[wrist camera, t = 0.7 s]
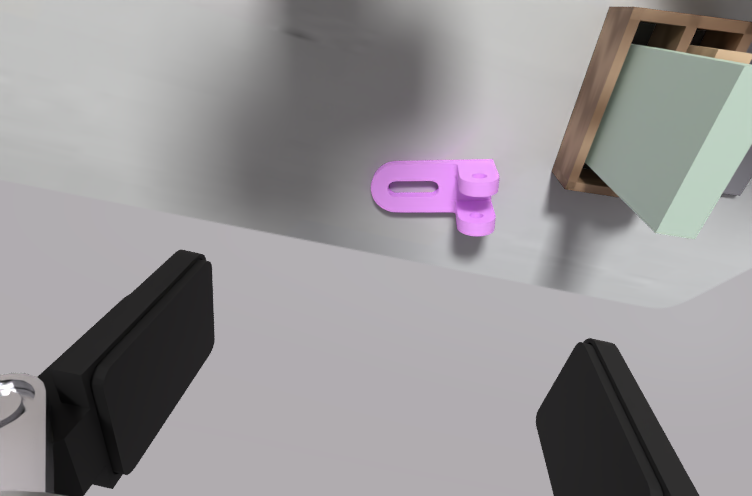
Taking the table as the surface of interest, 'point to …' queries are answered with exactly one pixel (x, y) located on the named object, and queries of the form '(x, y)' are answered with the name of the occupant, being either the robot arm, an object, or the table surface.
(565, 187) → the walnut rack
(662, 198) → the green board
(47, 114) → the table surface
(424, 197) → the bracket
